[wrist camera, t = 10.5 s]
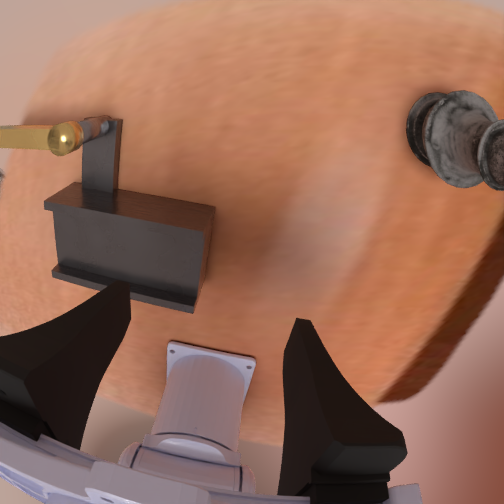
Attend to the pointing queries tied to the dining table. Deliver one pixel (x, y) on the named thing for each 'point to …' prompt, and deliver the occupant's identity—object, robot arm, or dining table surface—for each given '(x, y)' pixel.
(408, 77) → the dining table surface
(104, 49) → the dining table surface
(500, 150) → the grey tall flared piece
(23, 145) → the lever
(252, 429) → the dining table surface
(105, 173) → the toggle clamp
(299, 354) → the robot arm
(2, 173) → the knobbed drawer block
